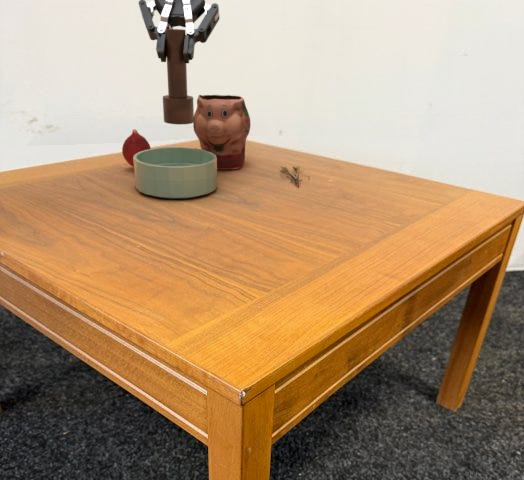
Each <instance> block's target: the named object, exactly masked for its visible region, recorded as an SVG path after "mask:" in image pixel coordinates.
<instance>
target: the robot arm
mask: <svg viewBox="0 0 524 480" xmlns="http://www.w3.org/2000/svg"><path fill="white" fill-rule="evenodd" d="M138 7H139V10H140V14H141V18H142V20H143V23H144V25H145V29H146V31H147V34H148V36H149V40H151V41H156V47H155V51H156V55H157V58H158V59H160V62H162V63H167V53H166V32H165V29H174V28H175V27H182V28H185V31H186V34H185V40H184V49H183V57H184V63H186V64H190V61H193V59H194V57H195V56H194V55H195V45H196V44H197V43H198V42H200V43H201V44H205V43H206V42H207V41H208V39H209V37H210V36H211V34H212V33H213V30H214V29H215V28H216V26H217V24H218V23H219V21H220V19H221V17H220V8H219V4H218V3H216V2H215V3H212V4H211V5H210V4H208V3H206V0H153V1H150V2H147V1H146V0H139V1H138ZM155 11H156V12H158V14H159V15H160V20H159V24H158V26H156V25H155V24H154V23H155V22H154V16H155ZM203 14H204V16H203V18H202V20H201V22H200V24H199V25H198V27H197V28H195V25H194V24H195V22H197V21H198V20H199V18H200V17H202V15H203Z"/></svg>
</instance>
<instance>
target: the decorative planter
mask: <svg viewBox="0 0 524 480" xmlns="http://www.w3.org/2000/svg"><path fill="white" fill-rule="evenodd" d="M196 105H197V106H196V110H195V112H194V122H193V123H192V126H193V132H194V134H195V135H196V137H197V139H198V141H199V145H200V146H199V147H200V149H202V150H206V151H209V152H212V153H213V154H215V155H216V157H217V170H237V169H241V168H243V166H244V164H245V158H246V143H247V138H248V136H249V134H250V131H251V117H250V114H249V111H248V108H247V106H246V103H245V99H244V98H243V96H240V95H230V94H228V95H227V94H226V95H225V94H224V95H223V94H222V95H221V94H204V95H202V94H198V96H197V100H196Z"/></svg>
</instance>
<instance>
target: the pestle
mask: <svg viewBox="0 0 524 480" xmlns="http://www.w3.org/2000/svg"><path fill="white" fill-rule="evenodd" d="M165 32H166V53H167V57H166V72H167V92H168V93H167V94H166V95H163V96H162V110H163V111H162V112H163V122H164V123H166V124H168V125H169V124H170V125H190V124H193V122H194V114H195V112H194V96H191V95H188V75H187V73H188V72H187V71H188V70H187V63H184V57H183V49H184V40H185V35H186V29H182V28H181V29H180V28H173V29H165Z"/></svg>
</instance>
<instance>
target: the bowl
mask: <svg viewBox="0 0 524 480" xmlns="http://www.w3.org/2000/svg"><path fill="white" fill-rule="evenodd" d="M133 162H134V167H133V172H134V183H135V184H134V185H135V188H136V189H137V191H138V192H139V193H143V194H145V195H147V196H152V197H155V198H160V199H170V200H178V199H179V200H180V199H192V198H197V197H201V196H205V195H208V194H210V193H213V192H214V191H216V189H217V188H218V169H217V157H216V155H215V154H213V153H212V152H209V151H206V150H202V149H201V148H196V147H195V148H194V147H186V146H185V147H183V146H167V147H155V148H151V149H148V150H144V151H141V152H138V153H136V154H135V155H134V157H133Z"/></svg>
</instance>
